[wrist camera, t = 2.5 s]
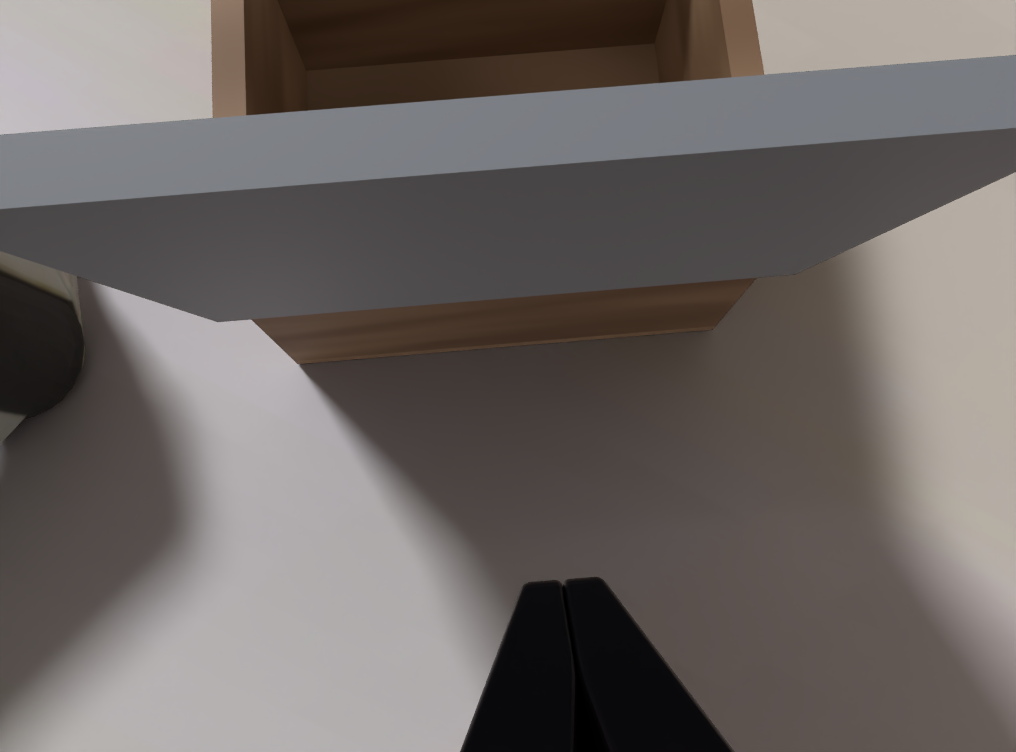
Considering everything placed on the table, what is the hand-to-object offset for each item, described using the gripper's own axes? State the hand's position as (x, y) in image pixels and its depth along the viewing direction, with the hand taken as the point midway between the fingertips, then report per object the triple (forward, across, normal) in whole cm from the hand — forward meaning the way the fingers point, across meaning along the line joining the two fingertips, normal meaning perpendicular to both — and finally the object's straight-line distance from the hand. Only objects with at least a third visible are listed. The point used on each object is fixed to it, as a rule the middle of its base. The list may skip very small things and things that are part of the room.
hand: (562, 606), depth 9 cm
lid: (+4, 0, -3) cm, 5 cm away
